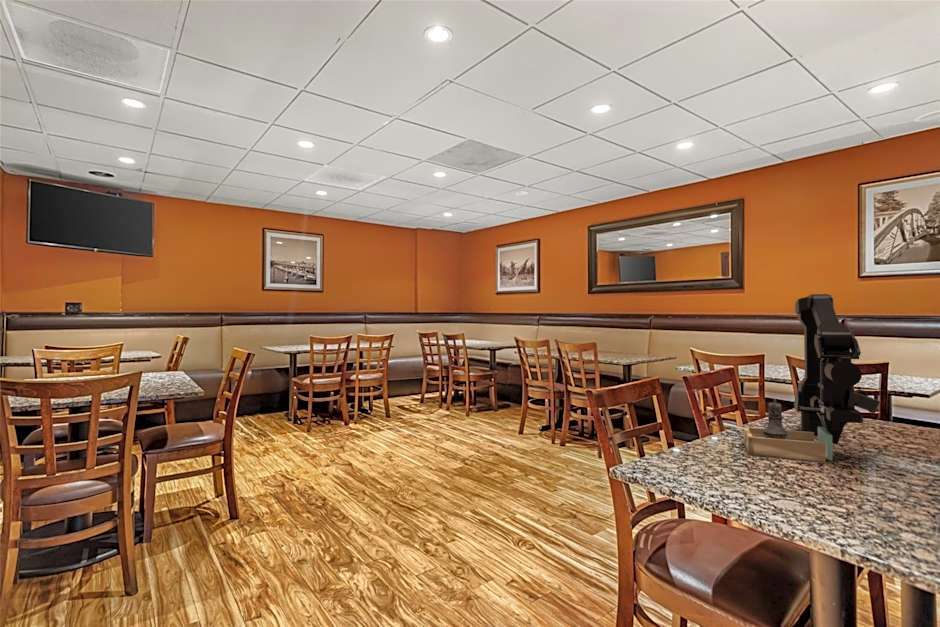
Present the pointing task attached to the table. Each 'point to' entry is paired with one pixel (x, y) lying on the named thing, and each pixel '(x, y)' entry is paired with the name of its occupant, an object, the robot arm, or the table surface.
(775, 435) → the grey tall tapered piece
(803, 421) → the robot arm
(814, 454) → the dock
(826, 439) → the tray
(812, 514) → the table surface
